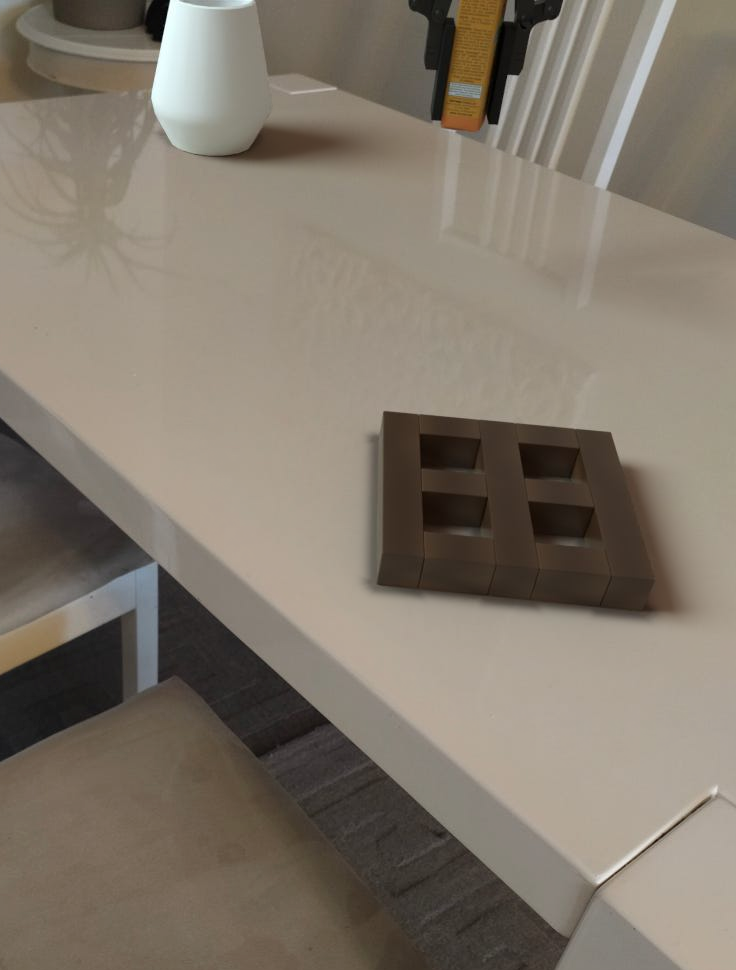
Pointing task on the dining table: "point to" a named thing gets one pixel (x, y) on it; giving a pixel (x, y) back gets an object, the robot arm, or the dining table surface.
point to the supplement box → (472, 64)
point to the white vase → (212, 77)
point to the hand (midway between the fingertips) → (463, 116)
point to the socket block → (507, 512)
